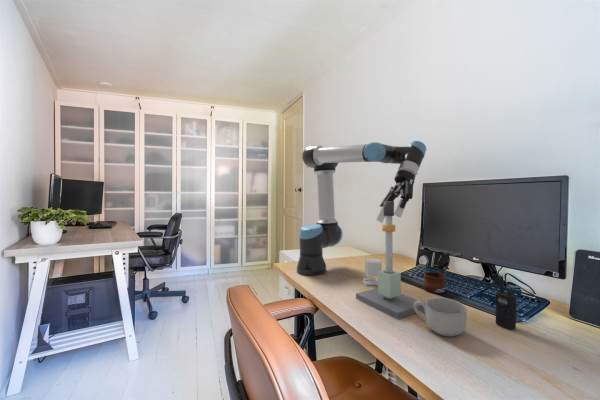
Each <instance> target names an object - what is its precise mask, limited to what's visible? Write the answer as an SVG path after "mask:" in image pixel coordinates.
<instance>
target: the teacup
mask: <svg viewBox="0 0 600 400" xmlns="http://www.w3.org/2000/svg"><path fill="white" fill-rule="evenodd" d="M417 300H418V301H416V302H415V303H414V306H413V307H414V310H415V312H416V313H415V314H417V315H418V316H419V317H421V318H422V319H423V321H424V322H426V324H427V326H428V327H429V328H430V329H431V330H432V331H434V333H436V334H437V335H441V336H444V337H451V338H452V337H456V336H459V335H460V334H462V333H463V332H464V330H465V329H466V325H467V311H468V309H467V307H466V305H465V304H463V303H461V302H460V301H458V300H455V299H451V298H447V297H439V296H438V297H430V298H428V299H426V301H423V300H421V299H417ZM418 304H421V305H422V306H423V307H424V310H423V311H424V312H425V313H423V312H422V311H419V310H418V308H417V305H418Z"/></svg>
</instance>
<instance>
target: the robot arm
mask: <svg viewBox="0 0 600 400" xmlns="http://www.w3.org/2000/svg"><path fill="white" fill-rule="evenodd" d="M426 152H427V146H426V144H425V143H424V142H421V141H420V140H413V141H411V142H409V144H408V146H394V145H393V146H392V145H388V144H385V143H380V142H369V143H366V144H365V143H364V144H352V145H350V144H349V145H339V146H338V145H337V146H323V145H316V144H315V145H314V144H313V145H309V146H307V147H305V148H304V150H303V152H302V154H301V155H302V157H301V158H302V161H303V164H305V166H307V167H308V168H313V173H314V174H315V175H316V181H317V182H316V183H317V200H318V201H317V202H318V220H317V221H316V223H312V224H306V225H303V226H301V227H300V228H299V235H298V238H299V259H298V261H297V265H296V272H297V274H299V273H300V275H303V274H304V275H305V276H318V275H323V274H325V273H326V272H327V264H326V261H325V259H324V256H323V255H324V254H323V252H324V251H323V249H324V248H325V249H326V248H328V247H334V246H335V245H336V246H337V245H338V244H339V243H340V242H341V241H342V238H343V229H342V228H341V226H340V225H339V221H338V220H337V219H336V215H335V195H334V174H335V173H336V168H337V166H338V165H339V163H372V162H373V163H375V162H376V163H377V162H378V163H380V164H381V163H382V164H392V165H393V164H394V165H395V164H397V165H399V166H398V169H397V172H396V174H395V176H394V178H393V179H394V182H395V183H396V184H395V185H394V186H391V187H390V189H389V191H388V192H387V194H386V195H385V197H384V199H383V200H382V201H381V202H380V205H379V207H381V208H380V210H379V212H378V215H377V217H376V218H375V219H376V221H378V222H380V223H381V224H383V223H384V221H385V216H384V201H394V202H395V200H396V198H400V199H399V200H398V203H397V205H396V207H395V208H394V216H396V217H398V218H401V217H403V214H404V210H405V208H406V205H407V203H408V202H409V201H410V200H412V199H413V195H414V185H415V180H416V176H417V175H418V174H419V173H418V171H419V169H420V166H421V164H422V162H423V160H424V158H425V155H426ZM399 196H400V197H399ZM304 275H303V276H304Z"/></svg>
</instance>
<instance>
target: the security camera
mask: <svg viewBox="0 0 600 400" xmlns="http://www.w3.org/2000/svg"><path fill="white" fill-rule="evenodd" d="M382 267H383V262H382V261H381V260H380V259H379V258H378V259H377V258H373V259H372V258H371V259H369V258H367V259H365V258H364V274H365V275H366V276H367V277H368V278H367V277H366V278H365V277H364V278H362V279H363V280H362V281H363V284H364V285H365V286H378V279H376V278H374V277H378V271H383V268H382Z"/></svg>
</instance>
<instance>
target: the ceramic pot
mask: <svg viewBox="0 0 600 400" xmlns="http://www.w3.org/2000/svg"><path fill="white" fill-rule="evenodd" d="M423 277H424V280H423V282H422V287H423V290H424V291H425V292H426V293H431V294H435V293H434V291H435V290H437V289H441V288H444V287H446V288H447V284H446V282H445V280H446V275H445V274H444V273H441V272H437V271H429V272H423Z"/></svg>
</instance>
